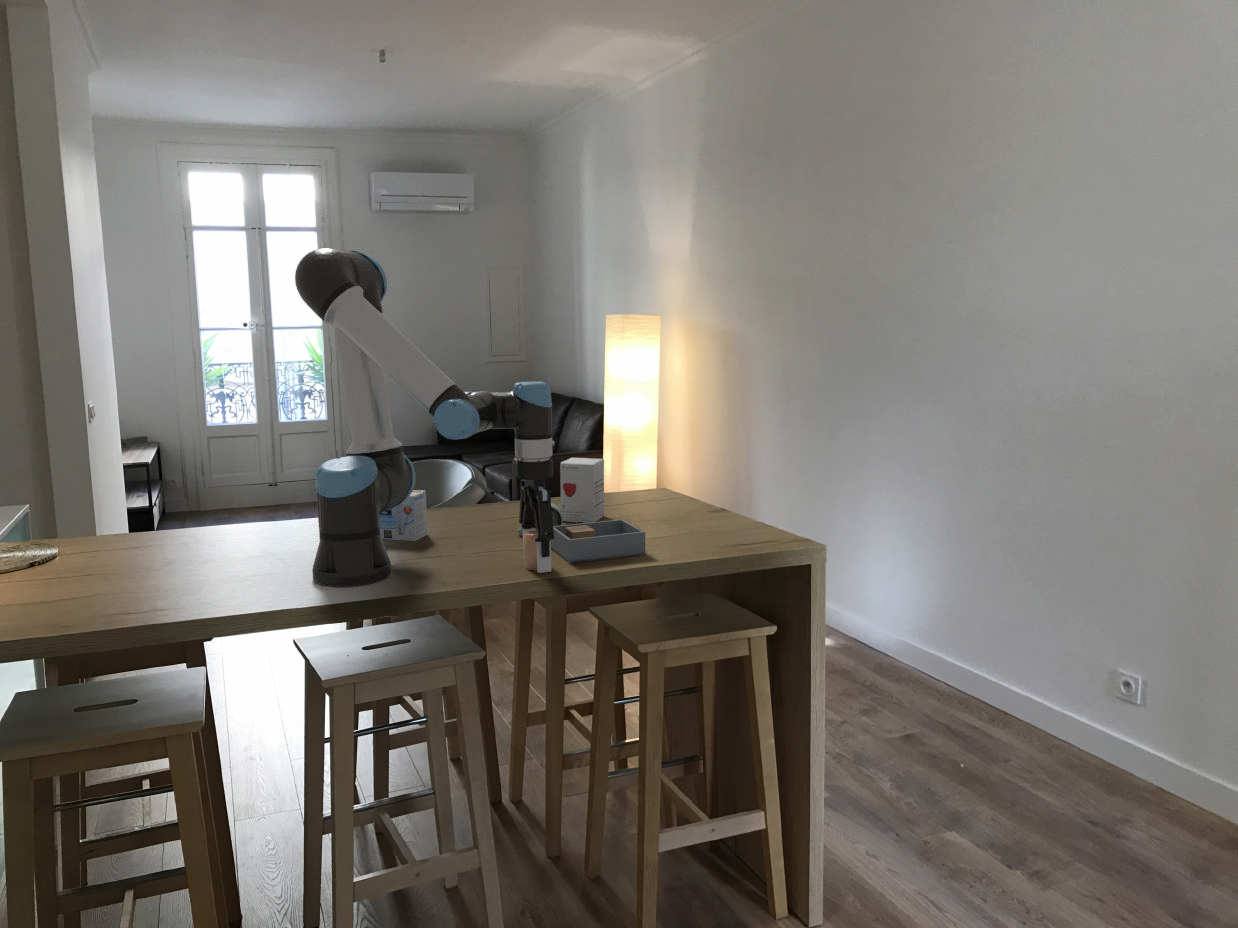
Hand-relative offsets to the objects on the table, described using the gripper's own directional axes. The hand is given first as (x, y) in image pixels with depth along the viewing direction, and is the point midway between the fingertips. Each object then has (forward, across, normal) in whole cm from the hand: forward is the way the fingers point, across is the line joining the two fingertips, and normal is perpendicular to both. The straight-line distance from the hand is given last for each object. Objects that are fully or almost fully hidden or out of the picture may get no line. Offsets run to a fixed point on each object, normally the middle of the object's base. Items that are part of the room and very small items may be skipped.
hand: (537, 565), depth 192 cm
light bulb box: (+1, +37, +22) cm, 43 cm away
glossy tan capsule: (0, 0, 0) cm, 0 cm away
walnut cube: (0, +6, -12) cm, 13 cm away
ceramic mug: (+1, +26, -9) cm, 27 cm away
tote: (0, +6, -15) cm, 17 cm away
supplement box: (+1, +37, -23) cm, 44 cm away
